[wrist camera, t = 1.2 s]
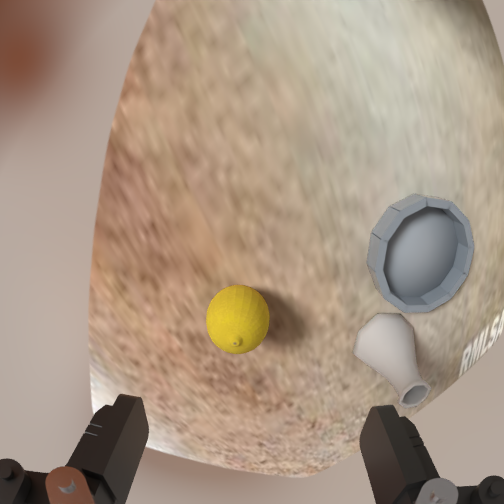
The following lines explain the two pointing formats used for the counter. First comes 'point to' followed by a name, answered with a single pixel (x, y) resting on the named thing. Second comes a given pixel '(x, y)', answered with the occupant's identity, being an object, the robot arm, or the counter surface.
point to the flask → (393, 356)
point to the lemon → (237, 319)
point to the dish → (420, 252)
